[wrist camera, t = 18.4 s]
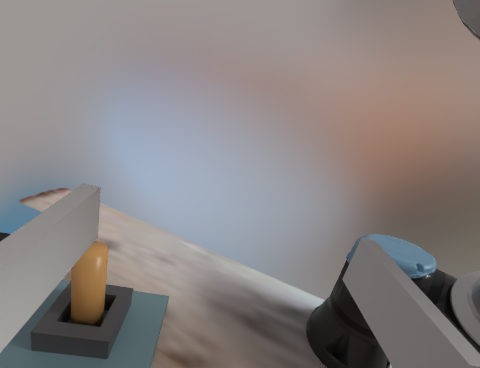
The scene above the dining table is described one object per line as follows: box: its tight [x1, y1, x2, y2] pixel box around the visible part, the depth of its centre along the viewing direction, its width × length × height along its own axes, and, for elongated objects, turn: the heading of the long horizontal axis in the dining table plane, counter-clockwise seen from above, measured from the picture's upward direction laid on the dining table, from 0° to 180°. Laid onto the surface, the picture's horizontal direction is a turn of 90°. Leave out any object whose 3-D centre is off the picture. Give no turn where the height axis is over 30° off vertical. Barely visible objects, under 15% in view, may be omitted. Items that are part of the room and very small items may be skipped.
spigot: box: [71, 241, 108, 327], centre depth 39 cm, size 4×4×14 cm
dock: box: [0, 280, 169, 368], centre depth 41 cm, size 22×16×5 cm
